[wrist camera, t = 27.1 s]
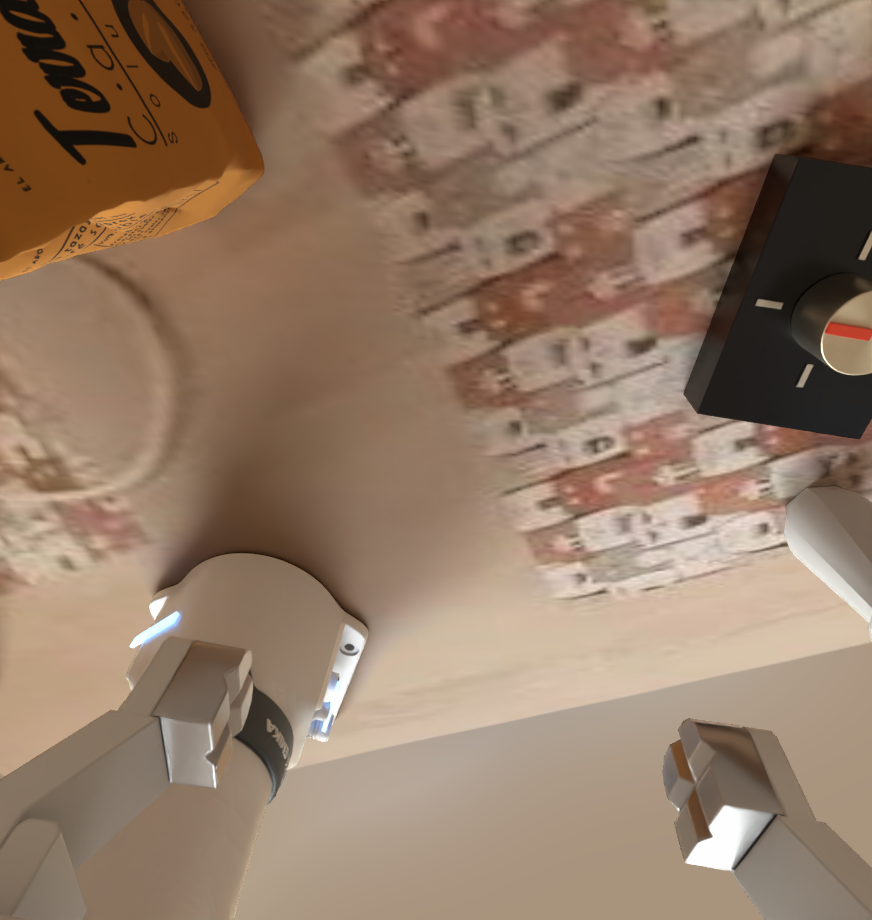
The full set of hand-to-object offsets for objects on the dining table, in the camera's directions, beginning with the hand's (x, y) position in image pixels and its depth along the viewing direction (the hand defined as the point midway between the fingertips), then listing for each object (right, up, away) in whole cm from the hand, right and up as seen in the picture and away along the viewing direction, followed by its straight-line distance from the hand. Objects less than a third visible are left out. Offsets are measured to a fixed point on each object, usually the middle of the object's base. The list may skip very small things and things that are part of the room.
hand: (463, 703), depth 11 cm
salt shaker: (+26, +1, +31) cm, 41 cm away
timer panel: (+21, +14, +24) cm, 35 cm away
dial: (+21, +13, +21) cm, 32 cm away
